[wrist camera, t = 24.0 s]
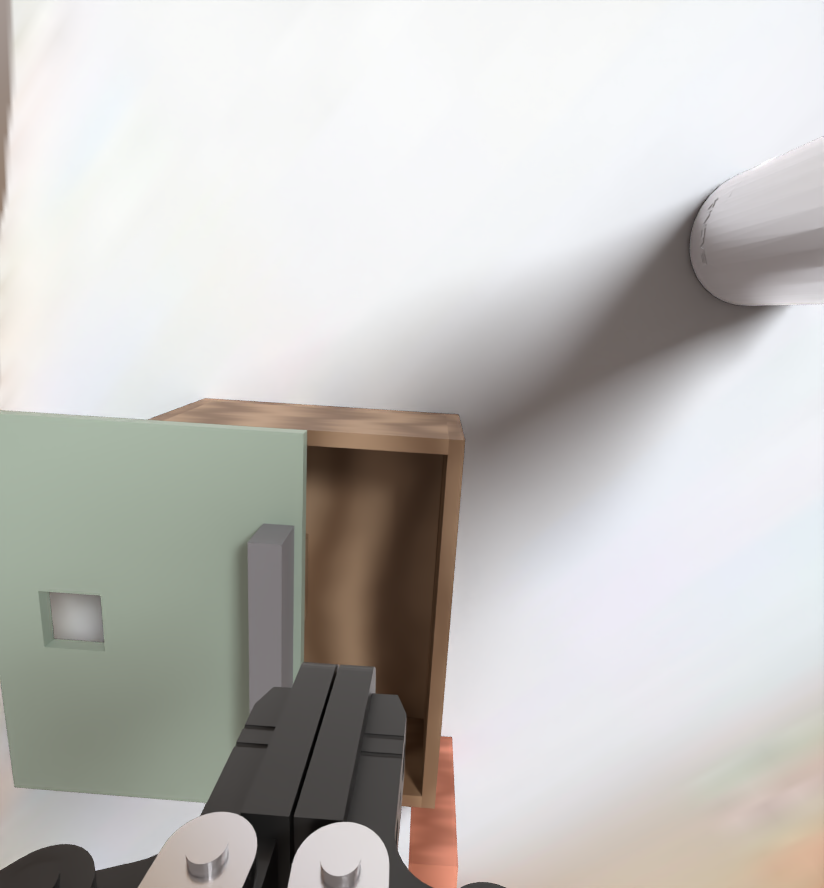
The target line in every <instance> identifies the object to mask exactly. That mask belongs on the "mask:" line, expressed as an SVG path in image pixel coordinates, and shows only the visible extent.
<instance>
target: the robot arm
mask: <svg viewBox="0 0 824 888" xmlns="http://www.w3.org/2000/svg"><path fill="white" fill-rule="evenodd" d="M690 256H691V263H692V266H693V268H694V271H695V274H696V276H697V278H698V279H699V281H700V282H701V284H702V285H703V287H704V288H706V289H707V290H708V291H709V292H710V293H711V294H712V295H713V296H715V297H717V298H719V299H721V300H722V301H724V302H728V303H731V304H735V305H745V306H761V305H809V304H824V136H822V137H820V138H818V139H815V140H813V141H811V142H809V143H807V144H804V145H802V146H800V147H798V148H796V149H794V150H791V151H789V152H787V153H785V154H783V155H780V156H778V157H776V158H773V159H771V160H769V161H767V162H765V163H762V164H760V165H758V166H756V167H754V168H751V169H749V170H747V171H745V172H743V173H740V174H738V175H736V176H734V177H732V178H731V179H729V180H728V181H726V182H724V183H723V184H721V185H720V186H719V187H718V188H717V189H716V190H715V191H714V192H713V193H712V194H711V195H710V196H709V197H708V199H707V200H706V201H705V203H704V204H703V205H702V207H701V208H700V210H699V212H698V215H697V217H696V219H695V221H694V224H693V228H692V232H691V235H690ZM375 691H376V669H375V667H372V666H357V665H342V664H340V666H339V665H338V664H325V663H310V662H303V663H302V664H301V666H300V669H299V671H298V673H297V676H296V678H295V681H294V683H293V686H292V688H287V687H273V688H272V689H271V690H269V691H268V692H267V693H266V694H265V695H264V696H263V697H262V698H261V699H260V700H258V701H257V702H256V703H255V705H254V707H253V709H252V711H251V713H250V715H249V717H248V719H247V721H246V723H245V727H244V729H242V731H241V733H240V735H239V737H238V740H237V742H236V746H234V748H233V750H232V752H231V754H230V756H229V758H228V760H227V762H226V764H225V766H224V768H223V770H222V772H221V774H220V777H219V779H218V781H217V783H216V785H215V787H214V789H213V791H212V793H211V795H210V797H209V799H208V801H207V803H206V805H205V807H204V809H203V811H202V813H201V815H200V816H199V817H197V818H195V819H193V820H191V821H189V822H187V823H186V824H184V825H183V826H181V827H180V828H179V829H178V830H177V831H176V832H174V833H173V834H172V836H171V837H170V838H169V839H168V840H167V841H166V843H165V844H164V846H163V847H162V849H161V850H160V852H159V854H157V855H155V856H152V857H150V858H147V859H144V860H141V861H137V862H133V863H128V864H124V865H119V866H115V867H111V868H106V869H102V870H98V871H95V866H94V861H93V859H92V856H91V855H90V854H89V853H88V851H86V850H85V849H83V848H82V847H79V846H76V845H70V844H60V845H54V846H49V847H46V848H42V849H39V850H37V851H34V852H32V853H30V854H28V855H26V856H24V857H22V858H21V859H19V860H17V861H15V862H14V863H12V864H10V865H9V866H7V867H5V868H4V869H2V870H0V888H433V887H431V886H429V885H427V884H425V883H424V882H422V881H421V880H419V879H418V878H417V877H415V876H414V875H413V874H412V873H411V872H410V871H409V870H408V868H407V867H406V866H405V864H404V863H403V861H402V859H401V857H400V855H399V853H398V840H399V829H400V818H401V807H402V795H403V784H404V767H405V739H406V712H405V710H404V708H403V705H402V703H401V701H400V699H399V697H398V695H390V694H375ZM461 888H505V887H503V886H500V885H497V884H493V883H488V882H477V883H471V884H468V885H465V886H463V887H461Z"/></svg>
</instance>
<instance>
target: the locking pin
mask: <svg viewBox="0 0 824 888" xmlns="http://www.w3.org/2000/svg"><path fill="white" fill-rule="evenodd" d="M409 871H410V872H411V873H412V874H413V875H414V876H415V877H417V878H418V879H419V880H421V881H422V882H424V883H425V884H427V885H429V886H431V887H433V888H456V886H457V872H458V857H457V835H456V813H455V791H454V769H453V747H452V737H442V736H441V738H440V750H439V762H438V774H437V786H436V798H435V809H432V808H420V807H411V824H410V847H409Z"/></svg>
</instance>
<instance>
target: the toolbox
mask: <svg viewBox="0 0 824 888" xmlns="http://www.w3.org/2000/svg"><path fill="white" fill-rule="evenodd" d="M148 420H159V421H174V422H189V423H205V424H220V425H235V426H251V427H266V428H281V429H297V430H307V475H306V545H305V614H304V662H310V663H325V664H338V665H339V666H340V664H342V665H357V666H372V667H375V669H376V691H375V694H390V695H398V697H399V699H400V701H401V703H402V705H403V708H404V710H405V712H406V739H405V767H404V784H403V795H402V806H407V807H420V808H432V809H435V798H436V786H437V774H438V762H439V750H440V738H441V726H442V714H443V702H444V690H445V678H446V666H447V653H448V641H449V629H450V617H451V605H452V593H453V581H454V569H455V557H456V545H457V533H458V521H459V509H460V497H461V485H462V472H463V460H464V448H465V438H464V434H463V430H462V426H461V422H460V418H459V415H458V414H442V413H427V412H411V411H396V410H380V409H364V408H349V407H333V406H318V405H302V404H286V403H271V402H255V401H240V400H224V399H208V398H205V399H202V400H199V401H197V402H194V403H191V404H188V405H186V406H183V407H180V408H178V409H175V410H172V411H170V412H167V413H164V414H161V415H159V416H156V417H153V418H151V419H148Z"/></svg>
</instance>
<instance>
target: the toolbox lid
mask: <svg viewBox="0 0 824 888" xmlns="http://www.w3.org/2000/svg"><path fill="white" fill-rule="evenodd" d="M306 475H307V430H297V429H281V428H266V427H251V426H235V425H220V424H205V423H189V422H174V421H159V420H143V419H128V418H113V417H97V416H82V415H66V414H51V413H36V412H20V411H5V410H0V682H1V689H2V697H3V704H4V712H5V720H6V727H7V735H8V742H9V750H10V757H11V765H12V773H13V780H14V787H17V788H29V789H42V790H54V791H66V792H79V793H91V794H103V795H116V796H128V797H140V798H152V799H165V800H177V801H189V802H202V803H207V801H208V799H209V797H210V795H211V793H212V791H213V789H214V787H215V785H216V783H217V781H218V779H219V777H220V774H221V772H222V770H223V768H224V766H225V764H226V762H227V760H228V758H229V756H230V754H231V752H232V750H233V748H234V746H236V742H237V740H238V737H239V735H240V733H241V731H242V729H244V727H245V723H246V721H247V719H248V717H249V715H250V713H251V711H252V709H253V707H254V705H255V703H256V702H257V701H258V700H260V699H261V698H262V697H263V696H264V695H265V694H266V693H267V692H268V691H269V690H271V689H272V688H273V687H287V688H292V686H293V683H294V681H295V678H296V676H297V673H298V671H299V669H300V666H301V664H302V663H303V662H304V614H305V545H306ZM49 592H58V593H71V594H85V595H99V596H100V597H101V609H102V621H103V634H104V642H92V641H79V640H65V639H54V633H53V623H52V614H51V604H50V594H49Z"/></svg>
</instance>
